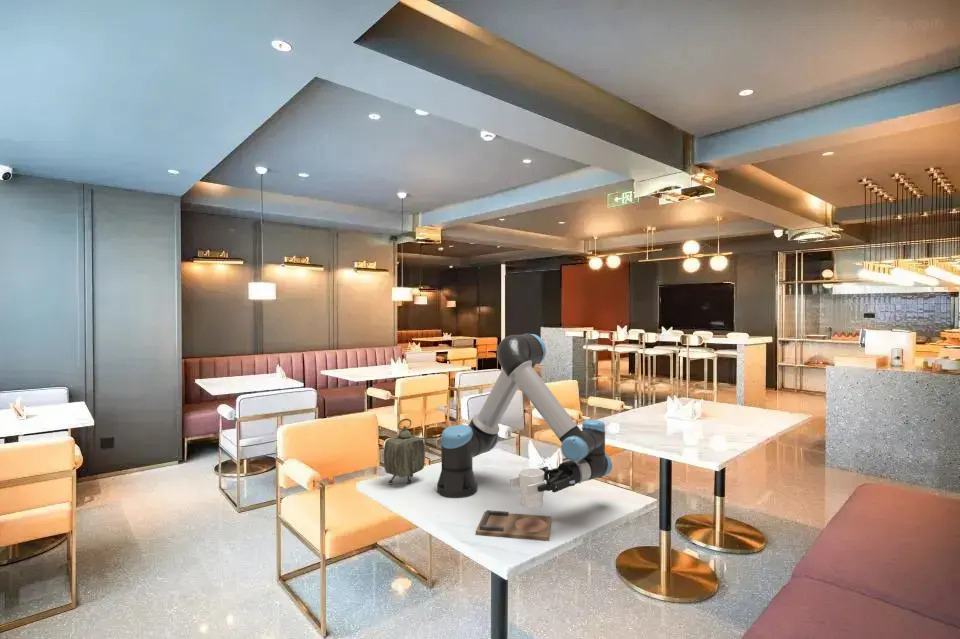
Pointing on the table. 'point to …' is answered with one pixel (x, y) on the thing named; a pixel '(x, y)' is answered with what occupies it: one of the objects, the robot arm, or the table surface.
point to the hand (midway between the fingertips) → (519, 486)
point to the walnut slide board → (514, 525)
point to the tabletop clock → (404, 454)
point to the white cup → (529, 478)
